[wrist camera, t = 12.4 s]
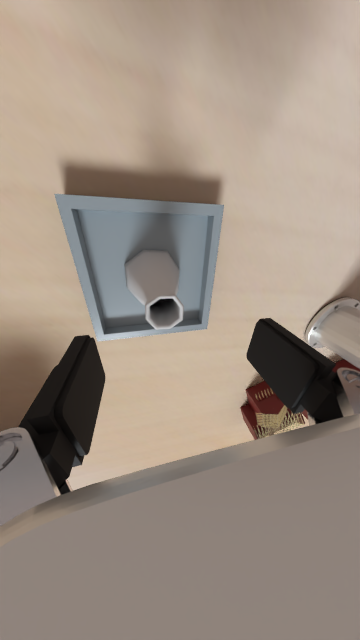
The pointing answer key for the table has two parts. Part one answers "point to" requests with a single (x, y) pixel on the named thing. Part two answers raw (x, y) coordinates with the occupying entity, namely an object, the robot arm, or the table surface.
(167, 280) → the flask
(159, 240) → the tray
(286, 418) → the toy houses
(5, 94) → the table surface
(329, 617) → the robot arm
